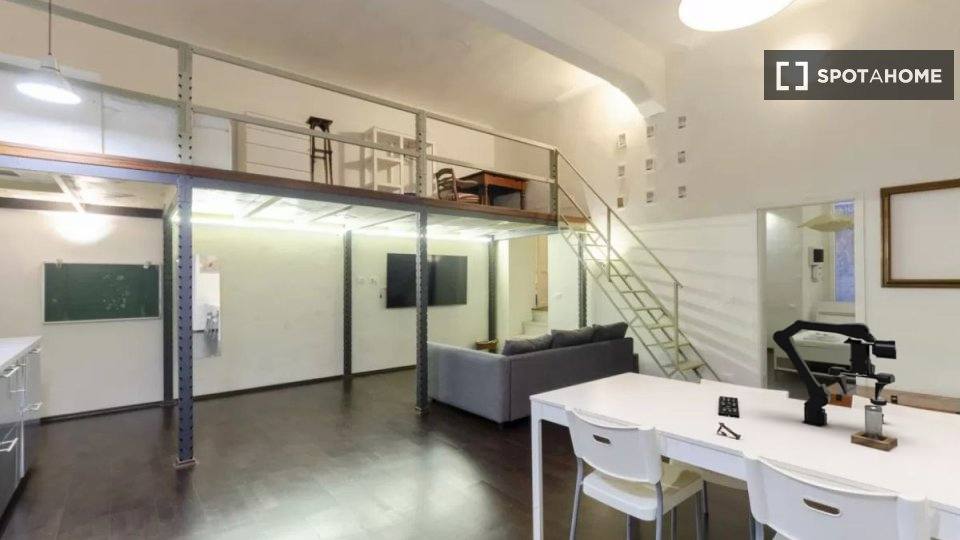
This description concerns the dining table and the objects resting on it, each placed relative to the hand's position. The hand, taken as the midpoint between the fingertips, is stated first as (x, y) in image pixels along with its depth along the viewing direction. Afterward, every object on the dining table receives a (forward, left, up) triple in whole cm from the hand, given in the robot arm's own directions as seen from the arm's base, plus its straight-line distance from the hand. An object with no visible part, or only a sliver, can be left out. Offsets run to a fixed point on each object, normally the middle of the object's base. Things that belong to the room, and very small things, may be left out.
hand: (860, 397), depth 170 cm
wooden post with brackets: (-25, -47, -13) cm, 55 cm away
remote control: (-45, -9, -14) cm, 48 cm away
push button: (0, +19, -13) cm, 23 cm away
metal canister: (+7, -12, -13) cm, 19 cm away
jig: (+7, -12, -13) cm, 19 cm away
